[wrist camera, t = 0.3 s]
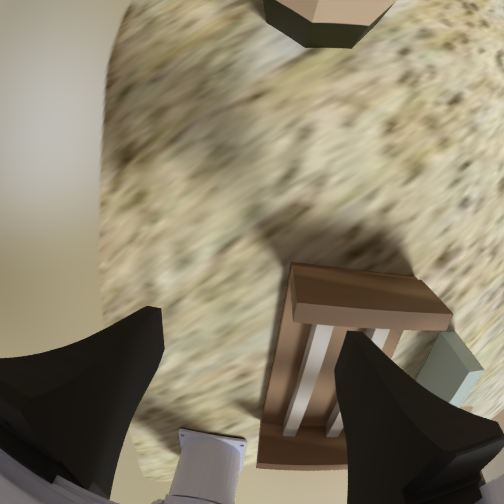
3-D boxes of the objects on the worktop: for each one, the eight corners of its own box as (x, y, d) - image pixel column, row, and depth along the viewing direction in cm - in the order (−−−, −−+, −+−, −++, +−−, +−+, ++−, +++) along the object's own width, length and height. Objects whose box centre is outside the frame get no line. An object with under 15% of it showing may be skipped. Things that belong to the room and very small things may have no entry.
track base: (350, 424, 26) (358, 468, 20) (260, 421, 26) (256, 468, 20) (416, 274, 19) (453, 314, 14) (291, 259, 20) (296, 302, 14)
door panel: (422, 391, 24) (440, 431, 18) (407, 392, 24) (424, 434, 18) (454, 331, 21) (484, 369, 15) (439, 330, 21) (469, 372, 15)
